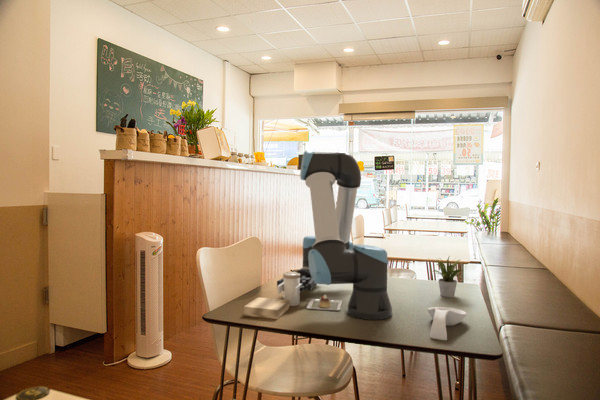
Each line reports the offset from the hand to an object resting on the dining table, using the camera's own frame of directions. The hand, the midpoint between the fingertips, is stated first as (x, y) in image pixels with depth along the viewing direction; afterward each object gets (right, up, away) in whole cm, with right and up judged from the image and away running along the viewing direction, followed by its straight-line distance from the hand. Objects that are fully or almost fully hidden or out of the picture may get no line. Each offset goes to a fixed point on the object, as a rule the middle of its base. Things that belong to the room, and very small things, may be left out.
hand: (287, 290), depth 145 cm
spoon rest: (+50, -8, -19) cm, 54 cm away
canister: (+1, -6, +5) cm, 8 cm away
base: (-7, -6, -5) cm, 10 cm away
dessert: (+14, -7, +3) cm, 16 cm away
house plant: (+63, -6, +18) cm, 66 cm away
